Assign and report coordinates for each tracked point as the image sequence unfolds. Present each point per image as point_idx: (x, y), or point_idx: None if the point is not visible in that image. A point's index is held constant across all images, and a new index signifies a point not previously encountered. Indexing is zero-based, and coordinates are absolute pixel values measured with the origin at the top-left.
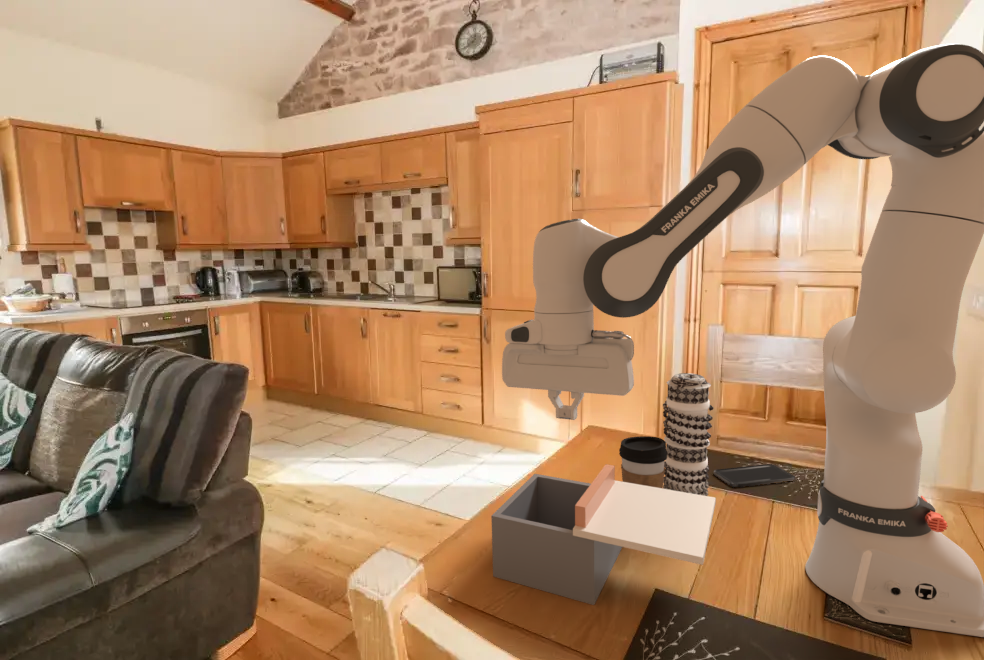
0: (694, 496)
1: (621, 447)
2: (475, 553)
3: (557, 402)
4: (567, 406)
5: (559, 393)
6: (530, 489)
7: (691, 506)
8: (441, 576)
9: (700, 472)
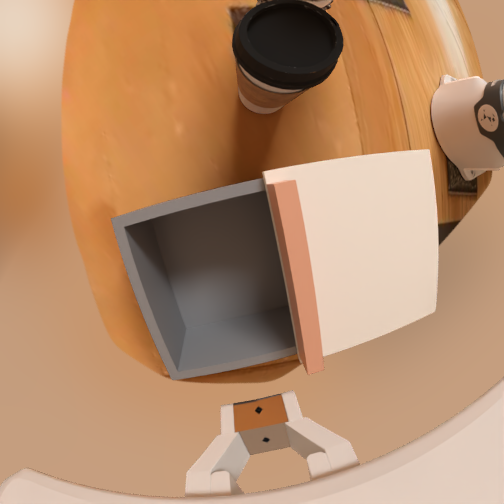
0: (409, 159)
1: (249, 60)
2: (133, 311)
3: (238, 468)
4: (266, 435)
5: (236, 486)
6: (138, 260)
7: (415, 197)
8: (143, 359)
9: (329, 5)
